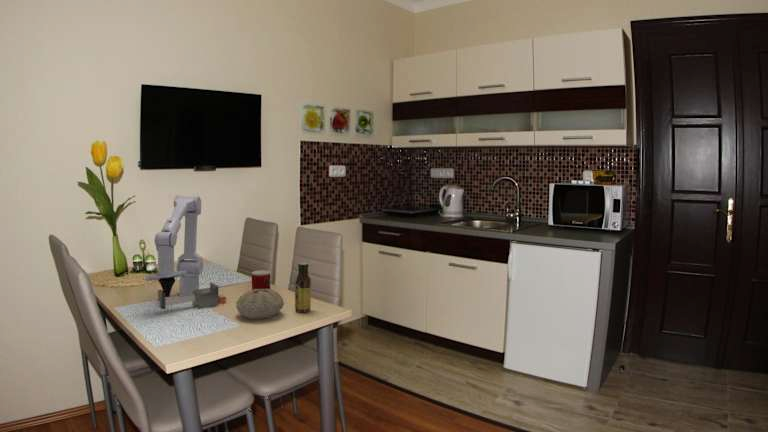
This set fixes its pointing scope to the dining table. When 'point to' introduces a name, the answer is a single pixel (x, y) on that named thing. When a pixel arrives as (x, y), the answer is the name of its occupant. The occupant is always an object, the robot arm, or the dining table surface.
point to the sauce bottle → (303, 289)
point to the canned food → (260, 279)
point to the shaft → (173, 299)
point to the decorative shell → (259, 303)
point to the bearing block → (207, 297)
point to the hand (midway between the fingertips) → (167, 296)
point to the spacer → (222, 299)
